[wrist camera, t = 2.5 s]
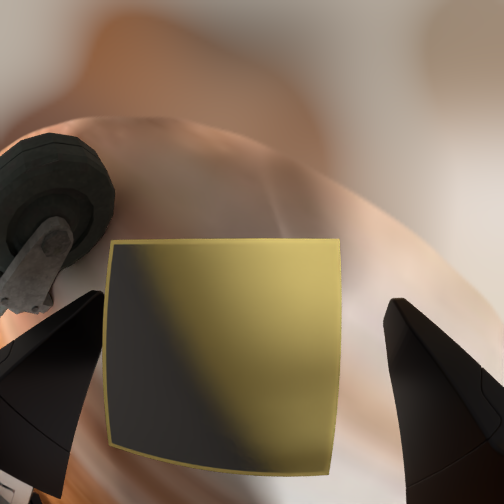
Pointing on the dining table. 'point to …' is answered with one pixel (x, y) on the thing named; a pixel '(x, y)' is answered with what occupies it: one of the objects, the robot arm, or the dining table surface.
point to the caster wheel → (48, 215)
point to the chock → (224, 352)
